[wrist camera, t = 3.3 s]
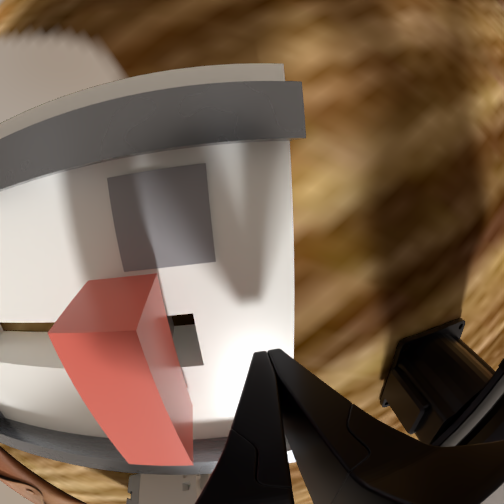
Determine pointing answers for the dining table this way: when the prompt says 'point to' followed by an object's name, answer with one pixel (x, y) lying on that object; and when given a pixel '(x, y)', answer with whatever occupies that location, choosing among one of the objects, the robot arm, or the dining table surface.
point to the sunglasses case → (30, 483)
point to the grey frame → (133, 144)
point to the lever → (128, 368)
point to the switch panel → (151, 256)
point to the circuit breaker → (165, 488)
